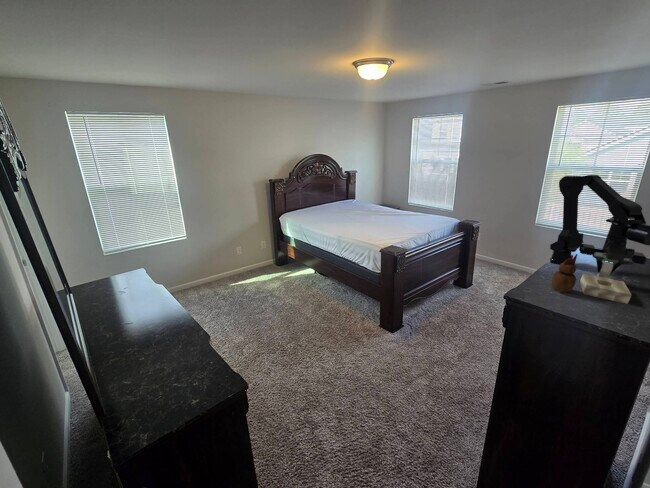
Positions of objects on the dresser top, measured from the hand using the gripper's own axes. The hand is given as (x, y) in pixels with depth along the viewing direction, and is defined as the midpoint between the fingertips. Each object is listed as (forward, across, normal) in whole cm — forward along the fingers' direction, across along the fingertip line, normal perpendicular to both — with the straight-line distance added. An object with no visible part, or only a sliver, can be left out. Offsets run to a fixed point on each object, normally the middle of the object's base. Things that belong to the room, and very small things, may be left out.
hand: (603, 273), depth 120 cm
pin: (+4, 0, 0) cm, 4 cm away
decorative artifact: (+4, +7, +34) cm, 35 cm away
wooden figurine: (+4, -14, -18) cm, 23 cm away
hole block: (+4, -1, -11) cm, 12 cm away
